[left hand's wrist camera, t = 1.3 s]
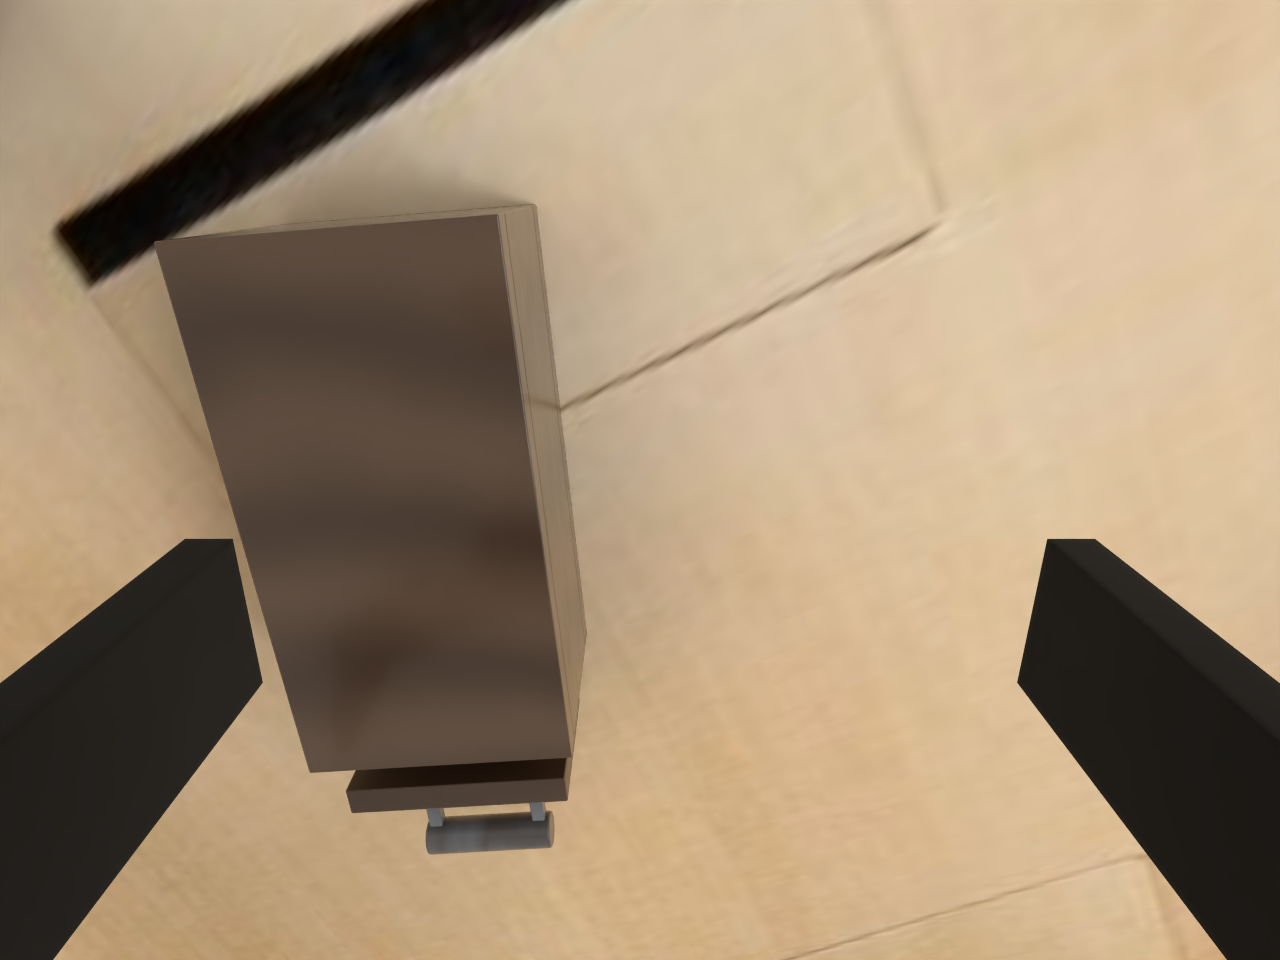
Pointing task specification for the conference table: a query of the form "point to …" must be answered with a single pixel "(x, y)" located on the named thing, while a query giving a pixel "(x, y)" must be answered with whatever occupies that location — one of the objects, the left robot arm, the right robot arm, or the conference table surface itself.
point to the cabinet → (396, 477)
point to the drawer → (470, 800)
